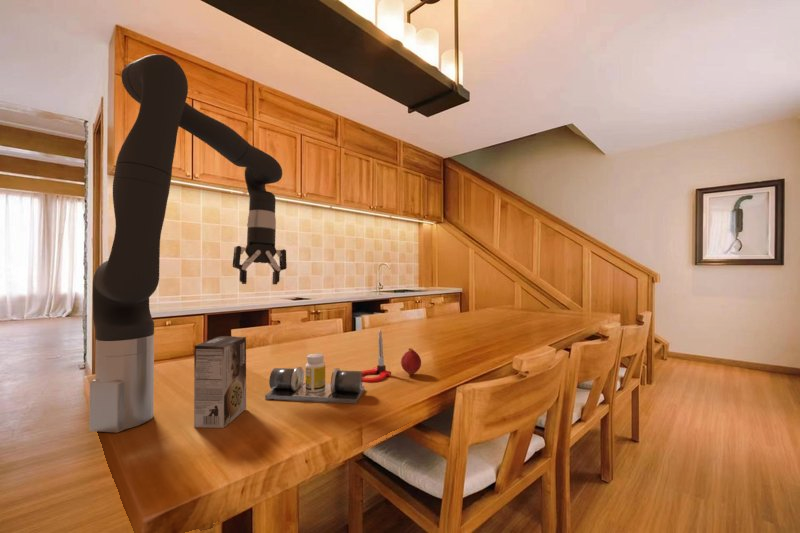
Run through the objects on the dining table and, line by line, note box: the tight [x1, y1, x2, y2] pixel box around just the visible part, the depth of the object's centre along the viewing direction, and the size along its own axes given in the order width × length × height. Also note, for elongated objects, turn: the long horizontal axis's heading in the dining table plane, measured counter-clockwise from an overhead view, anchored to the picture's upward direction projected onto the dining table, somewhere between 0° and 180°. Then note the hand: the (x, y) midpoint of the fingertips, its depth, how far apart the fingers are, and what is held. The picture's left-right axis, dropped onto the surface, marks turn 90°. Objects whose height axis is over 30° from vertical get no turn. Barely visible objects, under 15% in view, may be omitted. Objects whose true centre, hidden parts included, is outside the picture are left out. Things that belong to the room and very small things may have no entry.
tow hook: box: [362, 330, 392, 383], centre depth 97 cm, size 8×13×9 cm
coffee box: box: [193, 335, 247, 429], centre depth 71 cm, size 9×6×16 cm
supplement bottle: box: [304, 353, 326, 392], centre depth 84 cm, size 5×5×8 cm
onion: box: [400, 347, 422, 376], centre depth 99 cm, size 6×6×8 cm
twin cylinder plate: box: [264, 366, 365, 405], centre depth 84 cm, size 22×9×6 cm, turn 84°
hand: (259, 284), depth 97 cm, fingers open, 8 cm apart
